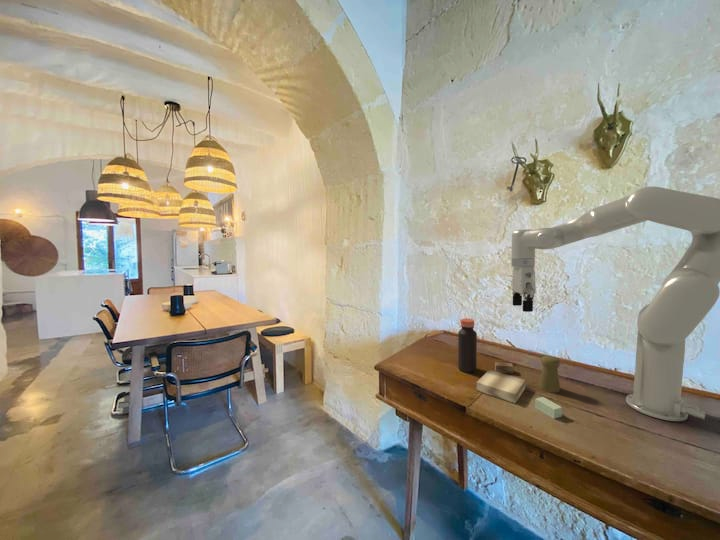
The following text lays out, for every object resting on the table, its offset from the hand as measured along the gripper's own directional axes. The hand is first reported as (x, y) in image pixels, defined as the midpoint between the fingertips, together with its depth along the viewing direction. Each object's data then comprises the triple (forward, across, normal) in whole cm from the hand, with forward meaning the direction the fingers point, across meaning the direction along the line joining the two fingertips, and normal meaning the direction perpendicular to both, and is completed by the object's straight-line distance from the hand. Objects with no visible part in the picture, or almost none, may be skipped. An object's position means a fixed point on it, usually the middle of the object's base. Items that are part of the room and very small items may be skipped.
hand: (522, 308), depth 107 cm
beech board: (+25, -14, +12) cm, 31 cm away
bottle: (+25, 0, +20) cm, 32 cm away
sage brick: (+25, -26, +2) cm, 37 cm away
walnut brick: (+25, 0, +6) cm, 26 cm away
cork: (+25, -12, -4) cm, 28 cm away
